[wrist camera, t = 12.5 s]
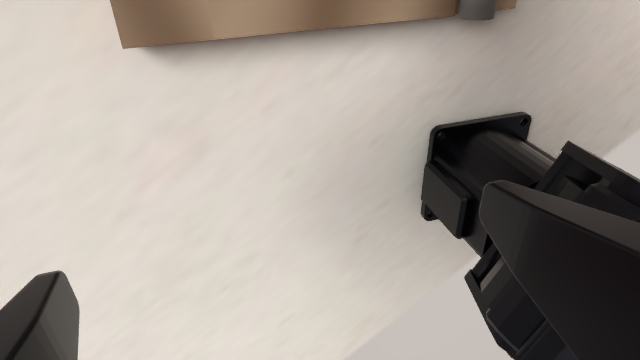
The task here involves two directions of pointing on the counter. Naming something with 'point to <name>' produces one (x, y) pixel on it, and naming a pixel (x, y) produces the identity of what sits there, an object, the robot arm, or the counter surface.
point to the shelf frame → (274, 16)
